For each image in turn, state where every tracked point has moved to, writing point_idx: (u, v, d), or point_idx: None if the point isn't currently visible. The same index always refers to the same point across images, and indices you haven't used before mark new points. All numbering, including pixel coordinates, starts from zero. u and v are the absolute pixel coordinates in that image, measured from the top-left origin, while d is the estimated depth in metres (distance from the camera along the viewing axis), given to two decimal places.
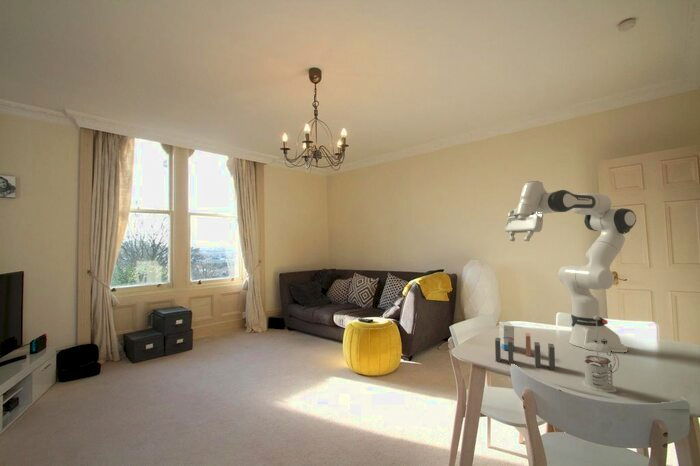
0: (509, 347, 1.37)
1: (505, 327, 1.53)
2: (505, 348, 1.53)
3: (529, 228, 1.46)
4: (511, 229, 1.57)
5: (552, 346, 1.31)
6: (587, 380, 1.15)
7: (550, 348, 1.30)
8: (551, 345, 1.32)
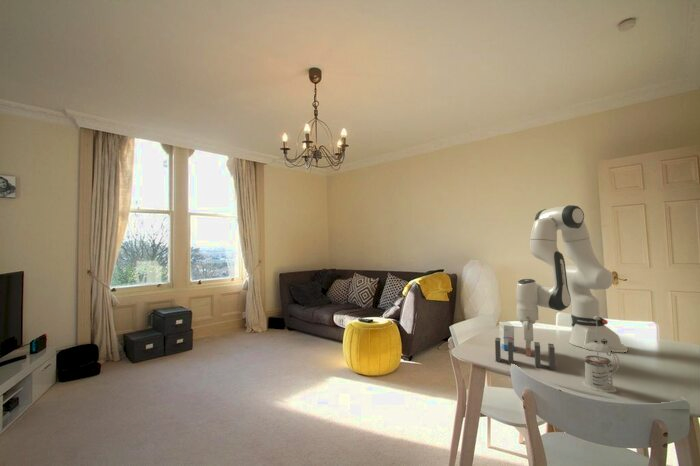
0: (509, 347, 1.37)
1: (505, 327, 1.53)
2: (505, 348, 1.53)
3: None
4: None
5: (552, 346, 1.31)
6: (587, 380, 1.15)
7: (550, 348, 1.30)
8: (551, 345, 1.32)
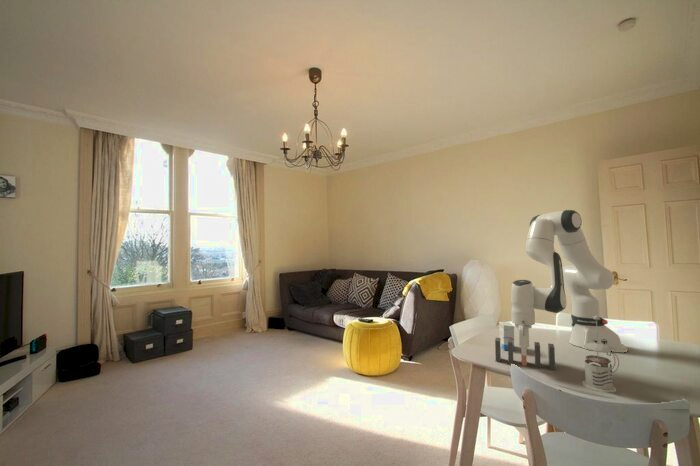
0: (509, 347, 1.37)
1: (505, 327, 1.53)
2: (505, 348, 1.53)
3: None
4: None
5: (552, 346, 1.31)
6: (587, 380, 1.15)
7: (550, 348, 1.30)
8: (551, 345, 1.32)
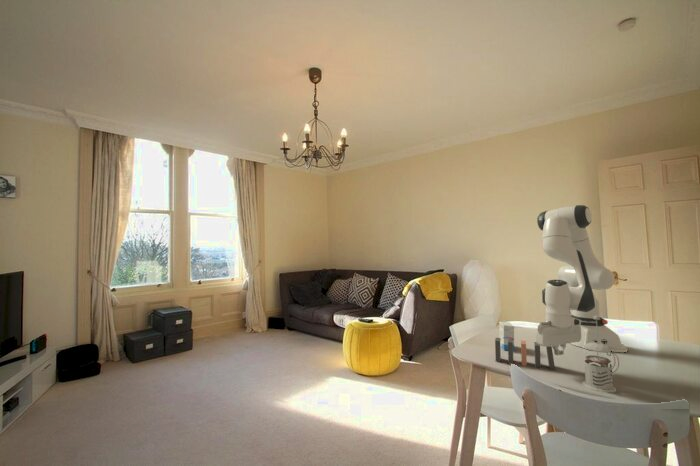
0: (509, 347, 1.37)
1: (505, 327, 1.53)
2: (505, 348, 1.53)
3: None
4: None
5: None
6: (587, 380, 1.15)
7: (548, 348, 1.30)
8: None
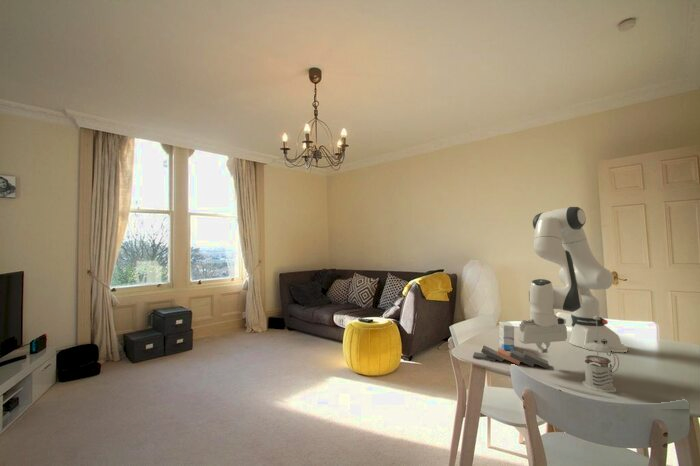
0: (486, 353, 1.41)
1: (505, 327, 1.53)
2: (505, 348, 1.53)
3: None
4: None
5: (524, 354, 1.35)
6: (587, 380, 1.15)
7: (525, 357, 1.34)
8: (524, 353, 1.36)
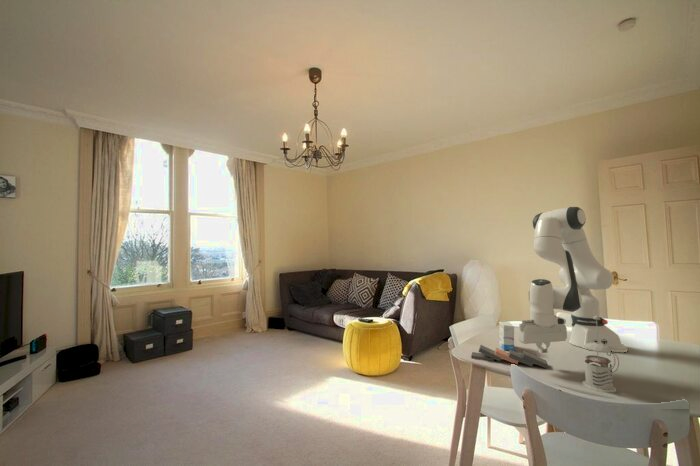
0: (483, 352, 1.41)
1: (505, 327, 1.53)
2: (505, 348, 1.53)
3: None
4: None
5: (523, 354, 1.35)
6: (587, 380, 1.15)
7: (524, 357, 1.34)
8: (523, 353, 1.36)
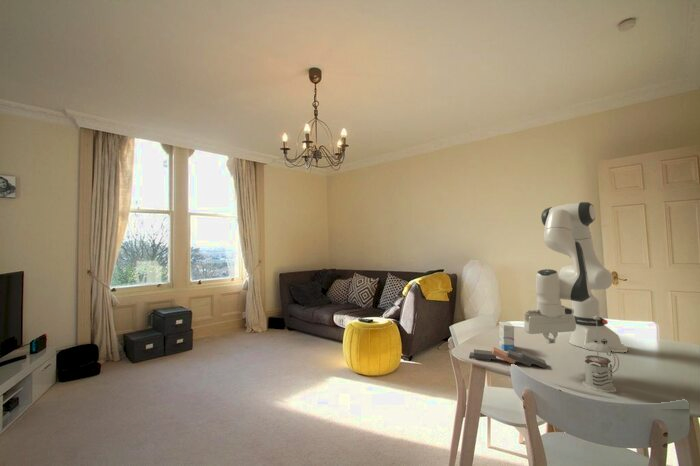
0: (479, 356, 1.41)
1: (505, 327, 1.53)
2: (505, 348, 1.53)
3: None
4: None
5: (522, 354, 1.35)
6: (587, 380, 1.15)
7: (523, 357, 1.34)
8: (521, 354, 1.37)
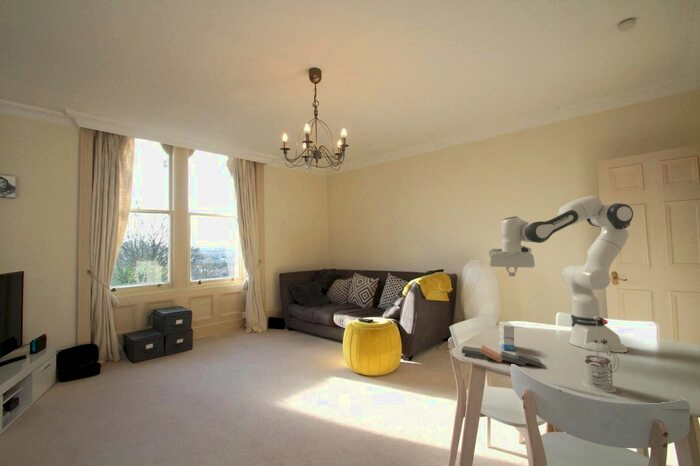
0: (466, 352, 1.46)
1: (505, 327, 1.53)
2: (505, 348, 1.53)
3: None
4: None
5: (517, 355, 1.36)
6: (587, 380, 1.15)
7: (518, 358, 1.34)
8: (516, 354, 1.37)
